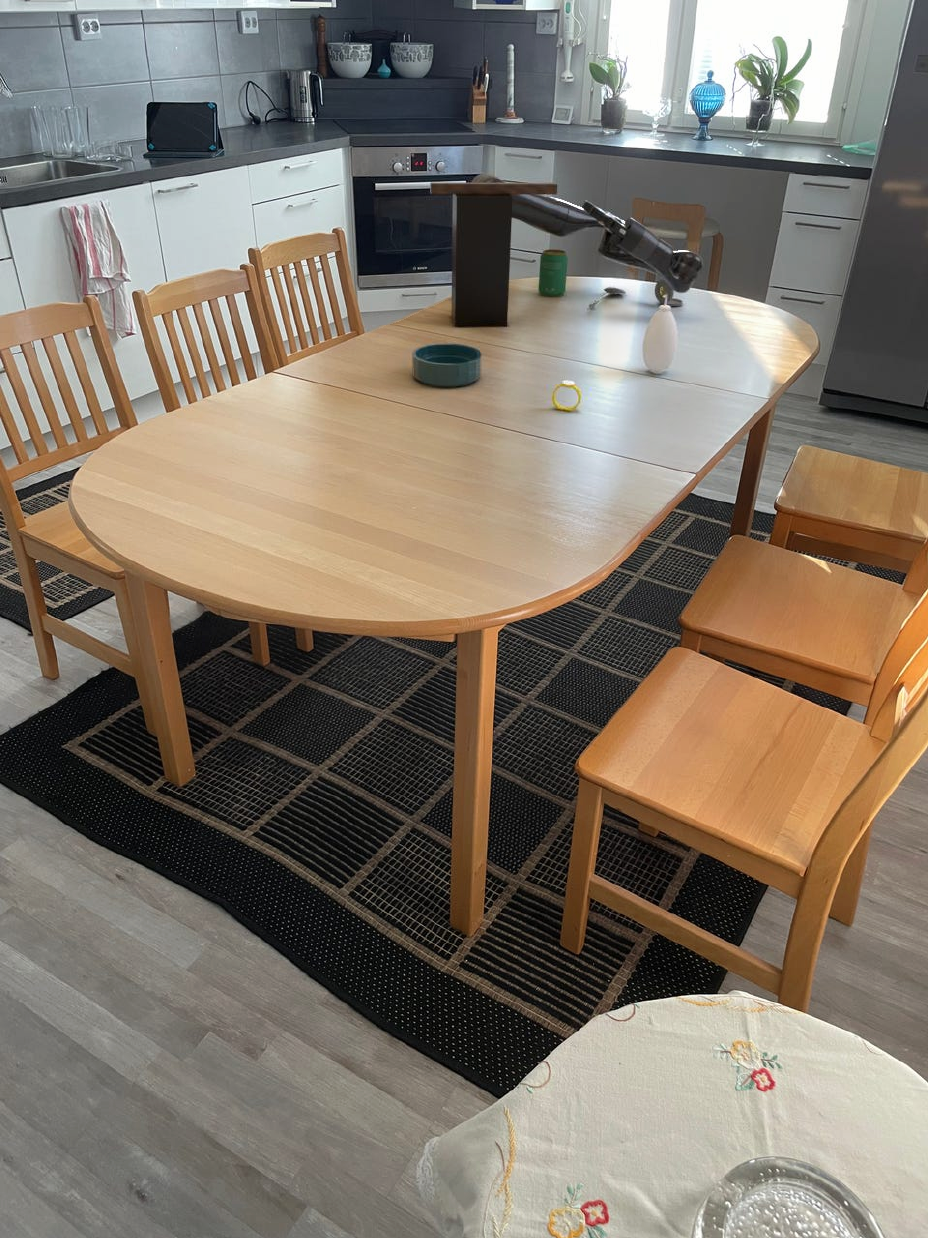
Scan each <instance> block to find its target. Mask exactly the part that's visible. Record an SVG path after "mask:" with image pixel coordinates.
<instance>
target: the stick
mask: <svg viewBox="0 0 928 1238" xmlns="http://www.w3.org/2000/svg"><path fill="white" fill-rule="evenodd" d="M429 184H430V185H429V186H430V188H429V190H430V191H429V192H430V195H453V194H540V195H546V196H549V195H552V196H553V195H558V183H557V182H506V183H471V182H454V181H453V182H448V181H447V182H445V181H443V182H441V181H440V182H439V181H437V182H436V181H435V182H433V181H432V182H429Z"/></svg>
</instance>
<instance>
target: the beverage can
mask: <svg viewBox="0 0 928 1238" xmlns="http://www.w3.org/2000/svg"><path fill="white" fill-rule="evenodd" d="M568 260H569V256H568V254H567V251H566V250H563V249H555V248H554V249H553V248H552V249H550V248H549V249H543V251H542V253H541V255H540V259H539V263H540V264H539V275H538V292H539V295H541V296H542V297H549V298H559V297H563V296H564V294H565V293H566V286H567V275H568V274H567V272H568V262H569V261H568Z"/></svg>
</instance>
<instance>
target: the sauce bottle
mask: <svg viewBox="0 0 928 1238" xmlns="http://www.w3.org/2000/svg"><path fill="white" fill-rule="evenodd" d="M665 297H666V298H665ZM665 297H664V298H665V304H664V305H662V304H660V305H659V307H658V310H656V312H655V313H654V315H652V317H651V319H650V321H649V323H648V325H647V328H646V330H645V333H644V336H643V341H642V348H641V349H642V358H643V362H644V365H645V367H646V368H647V369H648V370H649V372H650V373H652V374H655V375H660V374H662V373H665V370H668V369H670V367H671V366H672V364H673V362H674V360H675V358H676V356H677V351H678V346H679V332H678V327H677V322H676V319H675V316H674V314H673V312H672V311H671V310H672V306H668V305H667V293H666V295H665Z"/></svg>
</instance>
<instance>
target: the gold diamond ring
mask: <svg viewBox="0 0 928 1238" xmlns="http://www.w3.org/2000/svg"><path fill="white" fill-rule="evenodd" d="M562 387H563V388H568V389H573V390H574V391H576V393H577V396H578V401H577V403H575V405H574V406H572V407H569V406H563V405H560V404H559V403H558V402H557V400H556V396H555V395H556V391H557V390H558V389H559V388H562ZM551 400H552V404H553V406H554V407H555V408H556V409H557V410H561V411H567V412H572V411H574V410H576V409H577V408H578V407H579V405H580V403H581V401H582V393H581V390H580V388H579V387H578V386H577V385H576V382H575V381H573V380H567V379H566V380H562V381H561V383H559V384H557V386H556V387H555V388H554V389H553V392H552V396H551Z"/></svg>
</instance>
